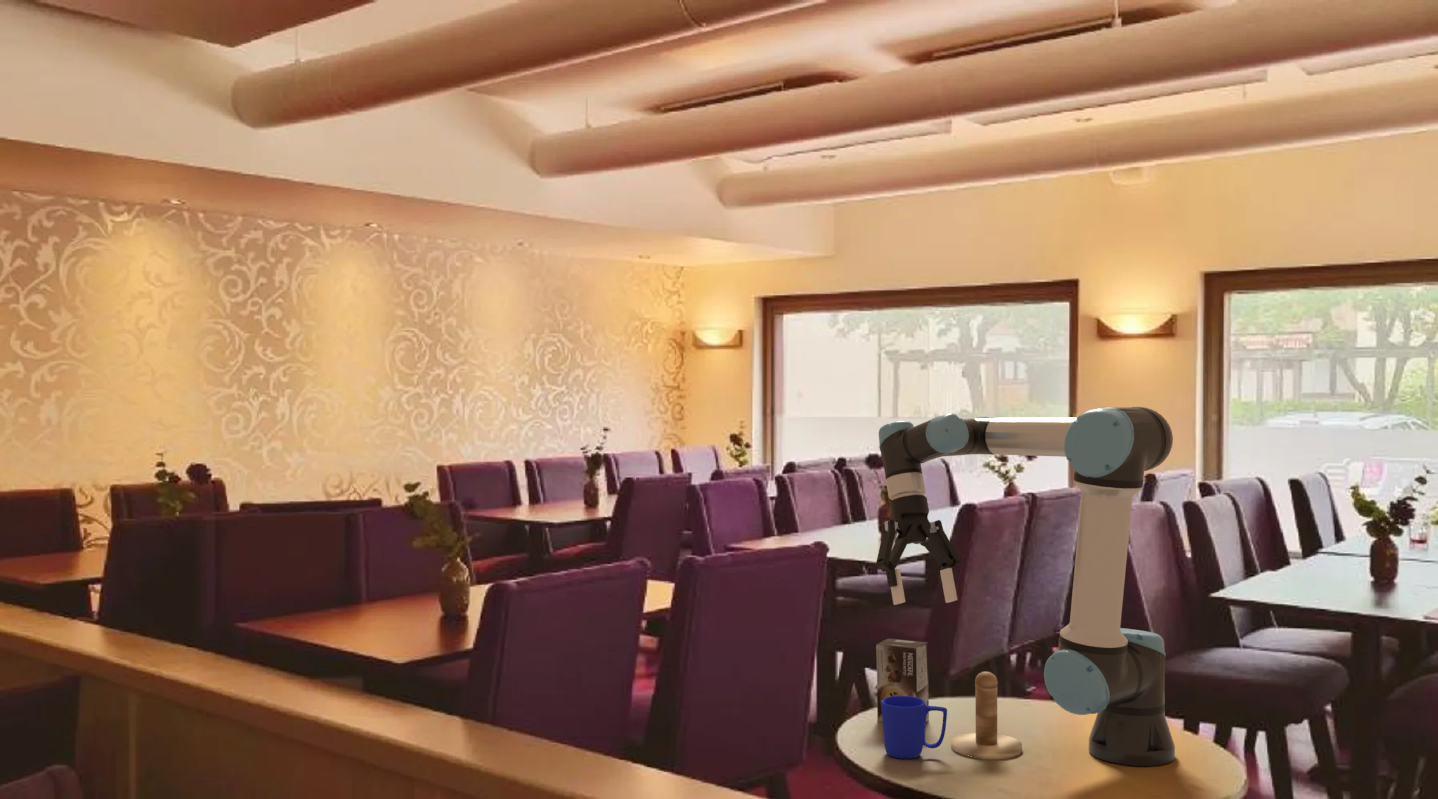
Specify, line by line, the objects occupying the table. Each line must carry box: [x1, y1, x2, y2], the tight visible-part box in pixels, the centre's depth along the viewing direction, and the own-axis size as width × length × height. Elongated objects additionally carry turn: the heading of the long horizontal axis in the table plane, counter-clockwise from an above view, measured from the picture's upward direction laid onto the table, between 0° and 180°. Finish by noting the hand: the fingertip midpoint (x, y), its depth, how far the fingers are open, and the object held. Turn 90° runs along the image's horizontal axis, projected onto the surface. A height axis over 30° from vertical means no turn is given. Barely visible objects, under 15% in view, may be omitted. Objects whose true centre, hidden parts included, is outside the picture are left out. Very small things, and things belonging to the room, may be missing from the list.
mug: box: [881, 696, 948, 760], centre depth 227 cm, size 8×12×10 cm
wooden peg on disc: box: [951, 671, 1023, 760], centre depth 231 cm, size 13×13×15 cm
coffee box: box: [875, 638, 930, 723], centre depth 250 cm, size 9×6×16 cm
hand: (925, 602), depth 242 cm, fingers open, 13 cm apart
